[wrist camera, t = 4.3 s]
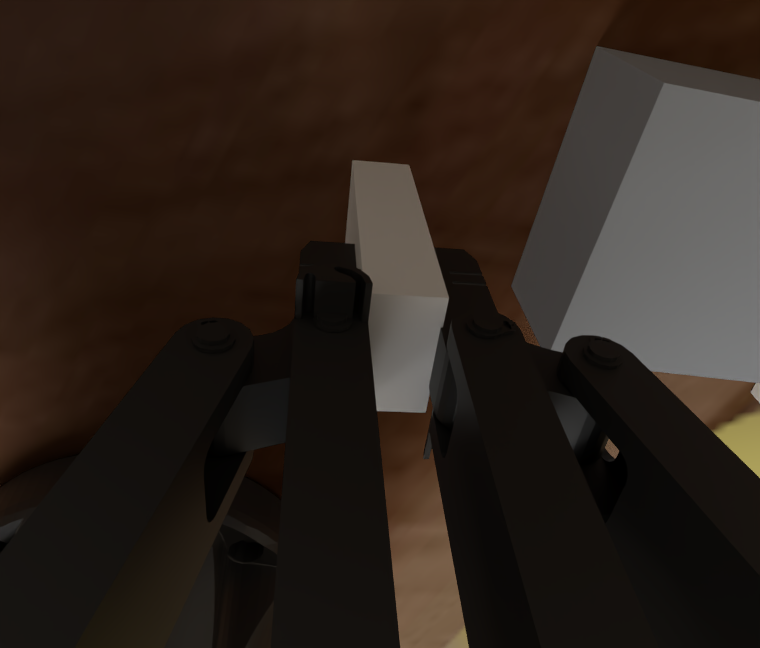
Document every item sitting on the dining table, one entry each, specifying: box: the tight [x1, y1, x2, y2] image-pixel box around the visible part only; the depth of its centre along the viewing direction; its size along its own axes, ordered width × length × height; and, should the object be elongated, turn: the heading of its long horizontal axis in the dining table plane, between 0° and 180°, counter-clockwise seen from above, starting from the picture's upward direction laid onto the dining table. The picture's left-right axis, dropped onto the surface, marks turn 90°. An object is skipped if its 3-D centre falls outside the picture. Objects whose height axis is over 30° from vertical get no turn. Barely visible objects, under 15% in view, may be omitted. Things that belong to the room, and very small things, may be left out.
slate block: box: [511, 46, 760, 383], centre depth 19 cm, size 9×8×4 cm
